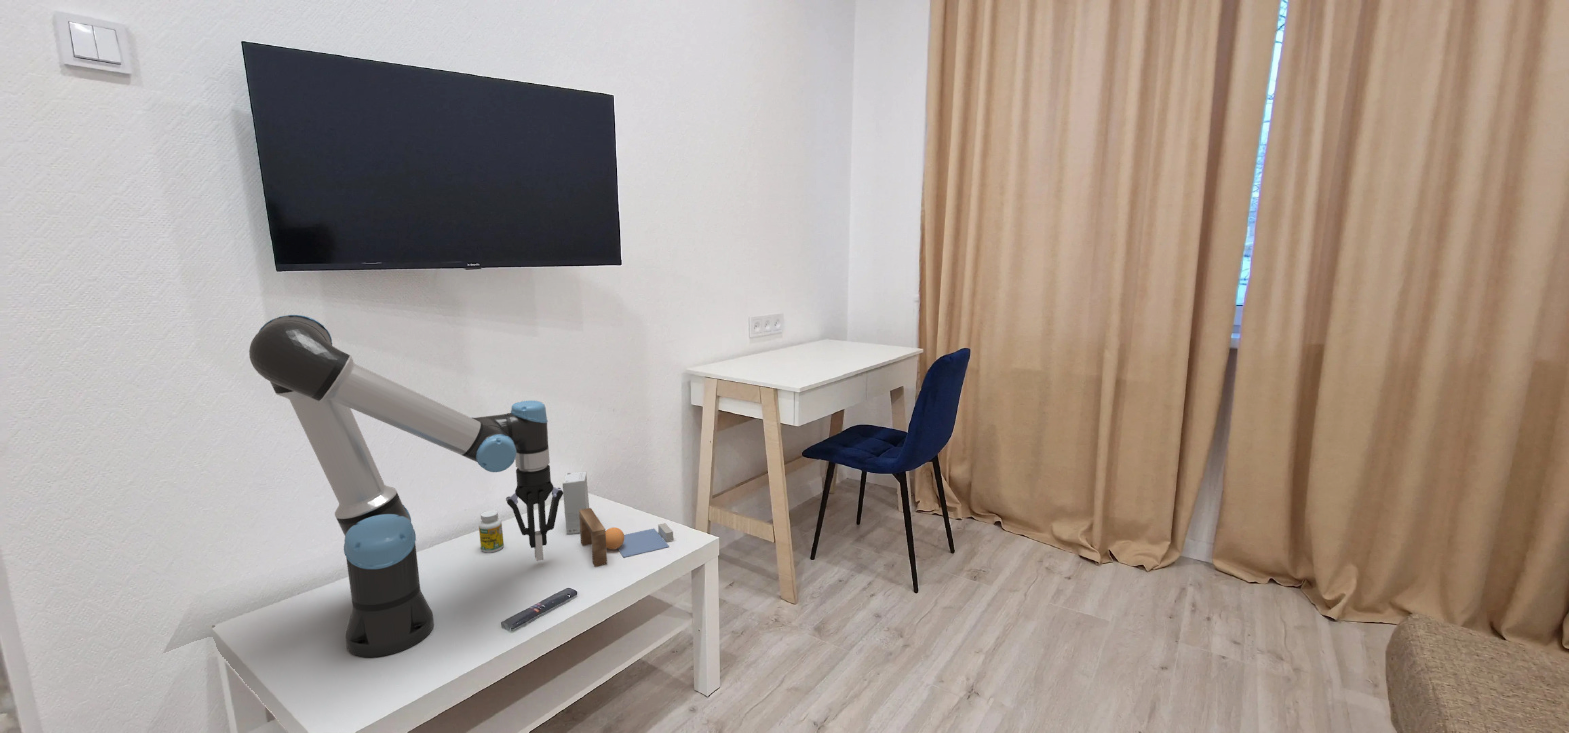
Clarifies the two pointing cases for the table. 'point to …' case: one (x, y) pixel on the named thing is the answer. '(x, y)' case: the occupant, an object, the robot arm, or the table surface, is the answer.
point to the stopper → (665, 532)
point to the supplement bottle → (490, 532)
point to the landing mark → (641, 543)
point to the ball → (614, 538)
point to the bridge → (593, 536)
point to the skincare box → (574, 499)
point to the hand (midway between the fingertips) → (539, 558)
